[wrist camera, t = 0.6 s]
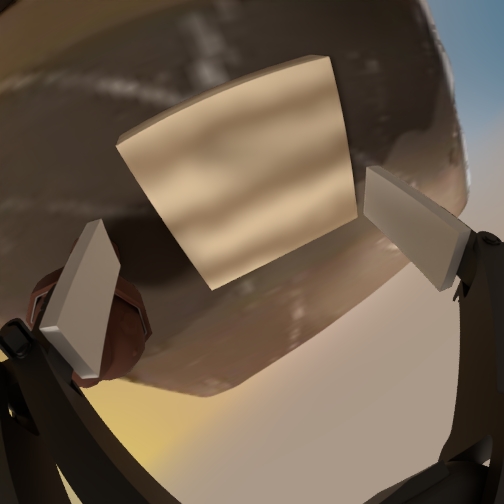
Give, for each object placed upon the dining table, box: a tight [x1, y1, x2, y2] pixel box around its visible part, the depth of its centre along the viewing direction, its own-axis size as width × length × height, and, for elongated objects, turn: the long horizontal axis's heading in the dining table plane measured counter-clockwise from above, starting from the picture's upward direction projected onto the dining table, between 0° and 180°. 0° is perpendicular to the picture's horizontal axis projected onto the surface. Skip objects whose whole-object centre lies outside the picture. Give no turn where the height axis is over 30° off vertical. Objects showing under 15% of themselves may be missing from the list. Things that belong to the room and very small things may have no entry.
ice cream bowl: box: [26, 238, 152, 388], centre depth 21 cm, size 11×11×15 cm
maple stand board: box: [116, 55, 357, 290], centre depth 26 cm, size 18×18×3 cm
